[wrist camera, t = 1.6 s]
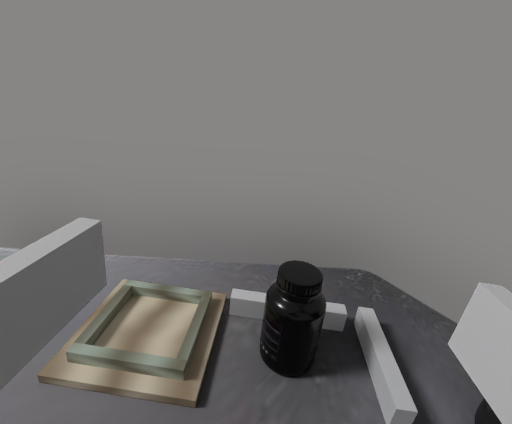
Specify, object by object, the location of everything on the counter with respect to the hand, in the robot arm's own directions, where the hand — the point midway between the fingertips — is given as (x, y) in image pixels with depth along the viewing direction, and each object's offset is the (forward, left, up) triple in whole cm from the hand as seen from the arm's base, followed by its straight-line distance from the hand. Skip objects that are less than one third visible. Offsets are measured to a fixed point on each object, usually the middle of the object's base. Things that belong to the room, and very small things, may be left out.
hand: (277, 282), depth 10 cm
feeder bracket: (-6, -17, -23) cm, 29 cm away
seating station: (+13, -17, -23) cm, 31 cm away
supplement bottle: (-4, -17, -23) cm, 29 cm away
